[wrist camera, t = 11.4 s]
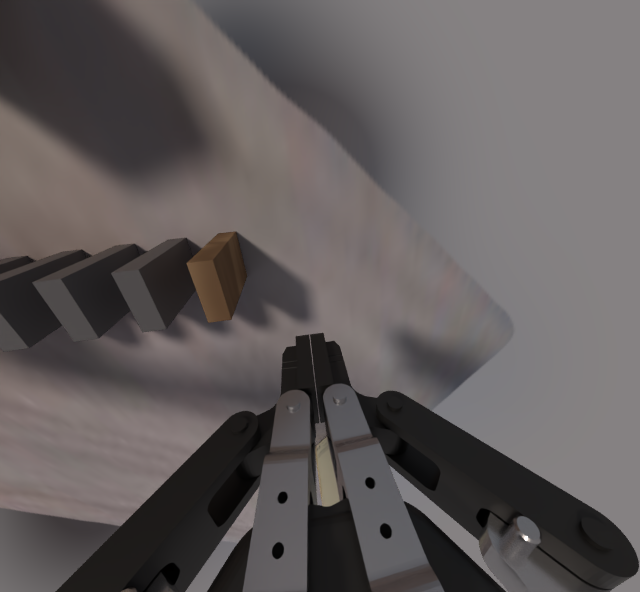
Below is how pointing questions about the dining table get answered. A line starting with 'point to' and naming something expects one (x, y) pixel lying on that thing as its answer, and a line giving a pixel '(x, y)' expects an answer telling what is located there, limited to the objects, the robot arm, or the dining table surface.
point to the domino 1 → (13, 263)
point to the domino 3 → (88, 293)
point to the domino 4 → (157, 284)
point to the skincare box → (326, 475)
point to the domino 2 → (29, 302)
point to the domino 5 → (219, 276)
